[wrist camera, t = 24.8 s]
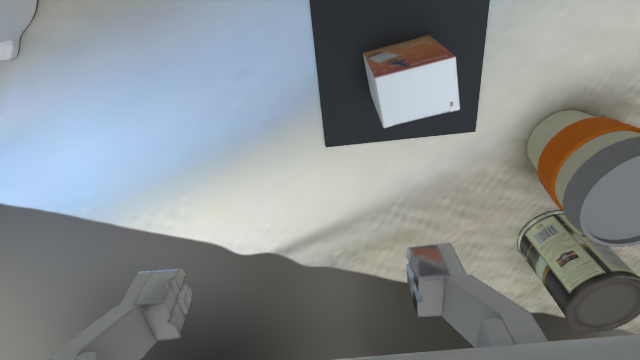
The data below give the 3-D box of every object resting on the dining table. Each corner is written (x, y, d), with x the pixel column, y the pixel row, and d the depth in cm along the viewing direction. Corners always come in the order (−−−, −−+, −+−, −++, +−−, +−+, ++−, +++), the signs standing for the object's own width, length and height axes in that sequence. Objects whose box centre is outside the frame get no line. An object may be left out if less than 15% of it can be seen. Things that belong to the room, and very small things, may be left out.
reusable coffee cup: (546, 195, 57) (614, 265, 44) (494, 146, 53) (553, 209, 40) (626, 135, 52) (728, 194, 40) (576, 76, 48) (672, 122, 35)
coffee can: (557, 266, 65) (614, 339, 53) (504, 252, 63) (550, 324, 51) (598, 219, 60) (671, 287, 48) (542, 202, 58) (603, 269, 46)
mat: (325, 145, 52) (325, 147, 52) (307, -19, 42) (307, -19, 42) (473, 129, 52) (475, 131, 51) (492, -41, 41) (494, -41, 41)
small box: (428, 33, 45) (458, 54, 36) (433, 80, 47) (462, 110, 38) (361, 51, 46) (373, 76, 37) (369, 96, 48) (383, 129, 39)
